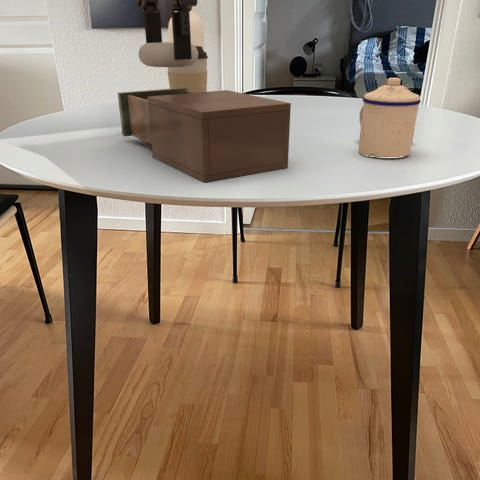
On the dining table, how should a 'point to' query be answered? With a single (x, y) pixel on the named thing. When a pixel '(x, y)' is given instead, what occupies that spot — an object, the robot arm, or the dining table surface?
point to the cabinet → (219, 133)
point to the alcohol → (191, 29)
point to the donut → (164, 55)
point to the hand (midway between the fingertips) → (168, 57)
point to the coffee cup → (190, 74)
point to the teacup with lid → (388, 120)
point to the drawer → (140, 111)
